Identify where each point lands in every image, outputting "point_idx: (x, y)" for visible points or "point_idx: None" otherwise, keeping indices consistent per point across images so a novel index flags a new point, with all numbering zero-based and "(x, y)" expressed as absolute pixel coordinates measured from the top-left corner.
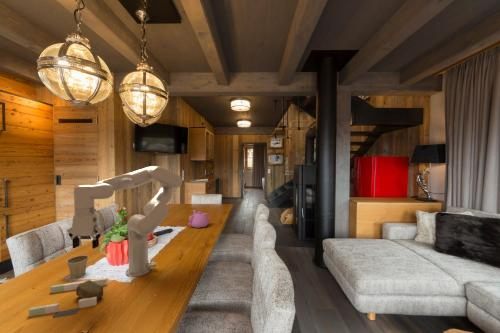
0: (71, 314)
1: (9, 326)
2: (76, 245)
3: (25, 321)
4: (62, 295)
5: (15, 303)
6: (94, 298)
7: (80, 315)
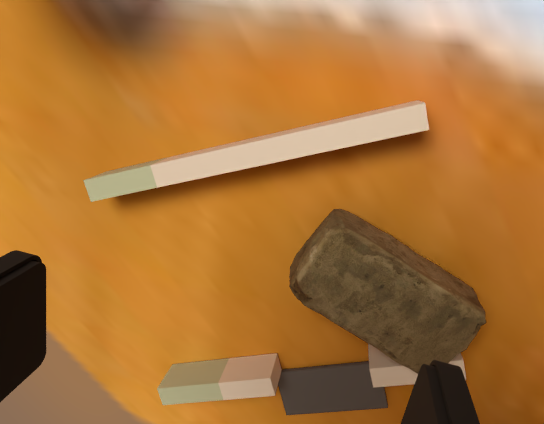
0: (366, 406)
1: (147, 415)
2: (23, 336)
3: None
4: (195, 216)
5: None
6: None
7: None
